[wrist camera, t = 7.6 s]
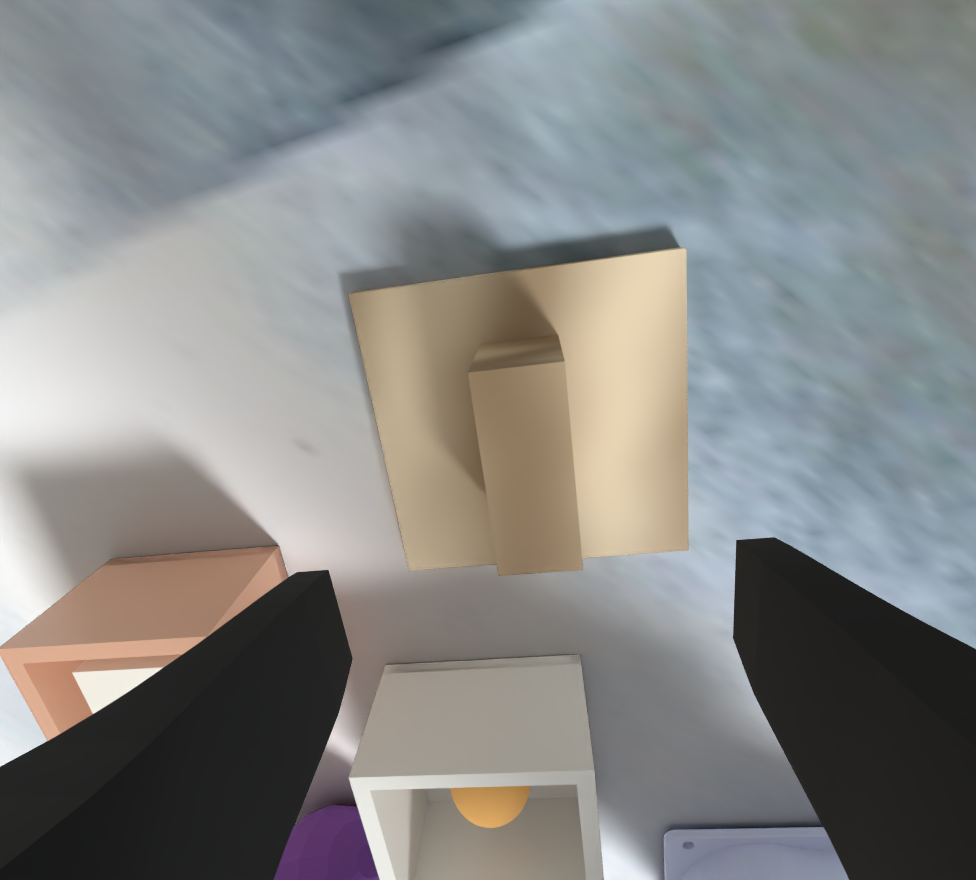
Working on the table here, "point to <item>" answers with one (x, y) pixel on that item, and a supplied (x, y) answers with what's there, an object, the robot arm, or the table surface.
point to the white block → (115, 677)
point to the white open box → (479, 770)
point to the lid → (534, 411)
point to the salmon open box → (132, 620)
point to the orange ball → (490, 804)
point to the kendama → (328, 848)
